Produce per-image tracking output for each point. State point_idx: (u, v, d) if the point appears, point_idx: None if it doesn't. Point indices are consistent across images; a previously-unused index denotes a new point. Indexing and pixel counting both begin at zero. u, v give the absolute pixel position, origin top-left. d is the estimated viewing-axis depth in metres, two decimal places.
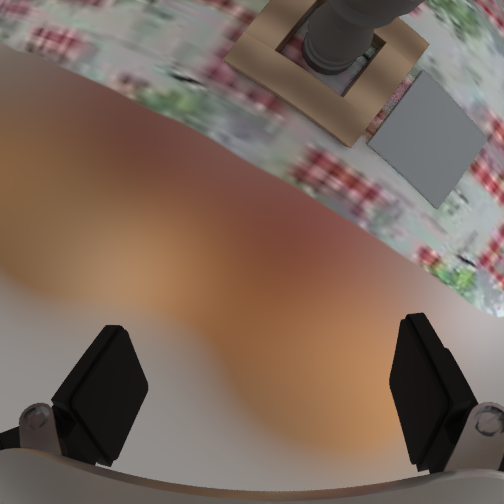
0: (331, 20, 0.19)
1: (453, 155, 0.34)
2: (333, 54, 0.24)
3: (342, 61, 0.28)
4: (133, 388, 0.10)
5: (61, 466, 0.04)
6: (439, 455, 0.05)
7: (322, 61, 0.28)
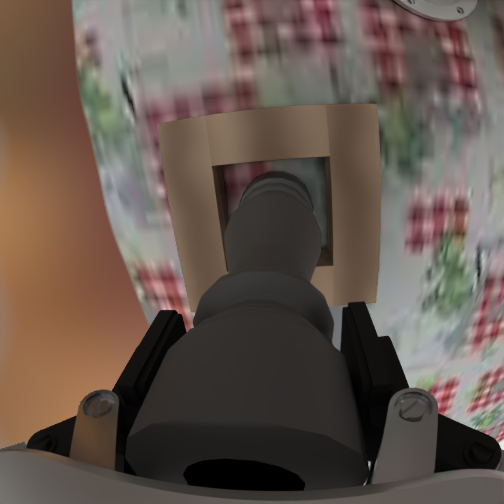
0: (231, 268, 0.15)
1: None
2: None
3: None
4: None
5: (61, 466, 0.04)
6: (367, 437, 0.07)
7: None
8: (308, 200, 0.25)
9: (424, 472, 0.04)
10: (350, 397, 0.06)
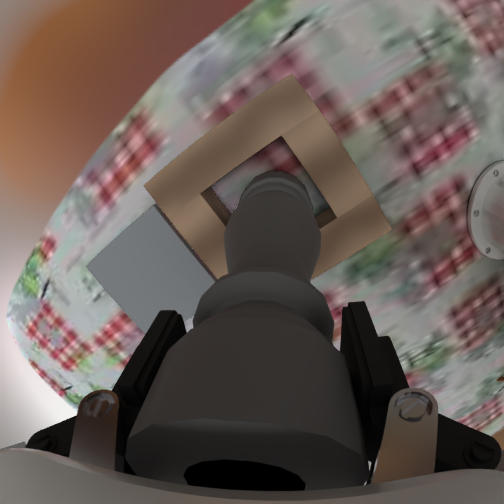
0: (230, 268, 0.15)
1: (135, 297, 0.38)
2: None
3: None
4: None
5: (61, 466, 0.04)
6: (367, 437, 0.07)
7: None
8: (307, 200, 0.25)
9: (424, 472, 0.04)
10: (351, 398, 0.06)
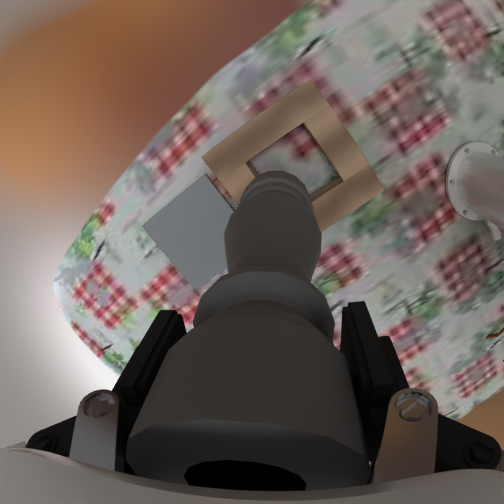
0: (231, 268, 0.15)
1: (184, 251, 0.48)
2: None
3: None
4: None
5: (61, 466, 0.04)
6: (367, 437, 0.07)
7: None
8: (308, 200, 0.25)
9: (424, 472, 0.04)
10: (352, 398, 0.06)
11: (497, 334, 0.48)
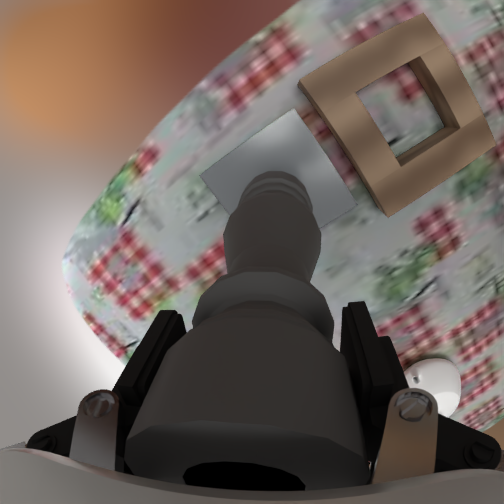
0: (230, 268, 0.15)
1: None
2: None
3: None
4: None
5: (61, 466, 0.04)
6: (367, 437, 0.07)
7: None
8: (307, 200, 0.25)
9: (424, 472, 0.04)
10: (351, 399, 0.06)
11: None
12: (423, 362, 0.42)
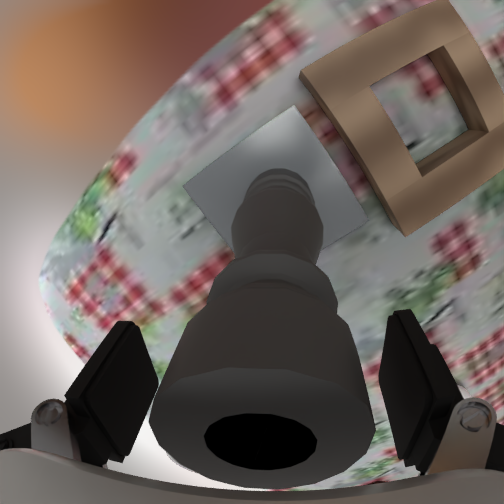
0: (239, 255, 0.16)
1: None
2: None
3: None
4: (144, 384, 0.10)
5: (61, 466, 0.04)
6: (424, 450, 0.06)
7: None
8: (310, 195, 0.26)
9: None
10: (356, 359, 0.07)
11: None
12: None
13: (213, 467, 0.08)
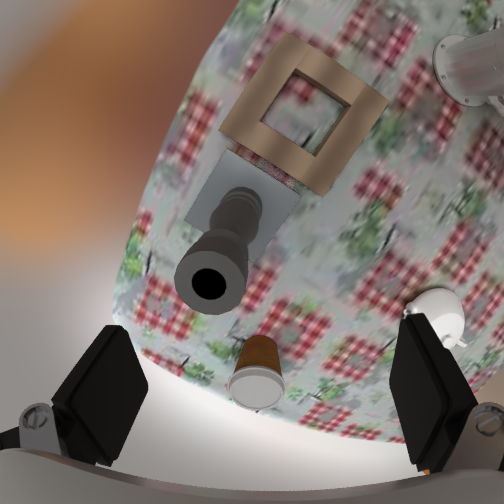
0: None
1: None
2: None
3: None
4: (133, 388, 0.10)
5: (61, 466, 0.04)
6: (439, 455, 0.05)
7: None
8: (253, 197, 0.44)
9: None
10: (229, 248, 0.25)
11: None
12: (418, 297, 0.50)
13: (202, 304, 0.26)
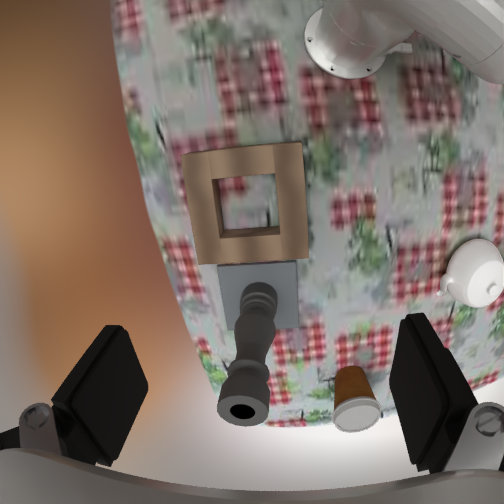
0: None
1: None
2: None
3: None
4: (133, 388, 0.10)
5: (61, 466, 0.04)
6: (439, 455, 0.05)
7: None
8: (259, 293, 0.51)
9: None
10: (240, 385, 0.32)
11: None
12: (448, 265, 0.48)
13: (248, 422, 0.32)
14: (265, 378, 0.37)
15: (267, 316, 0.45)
